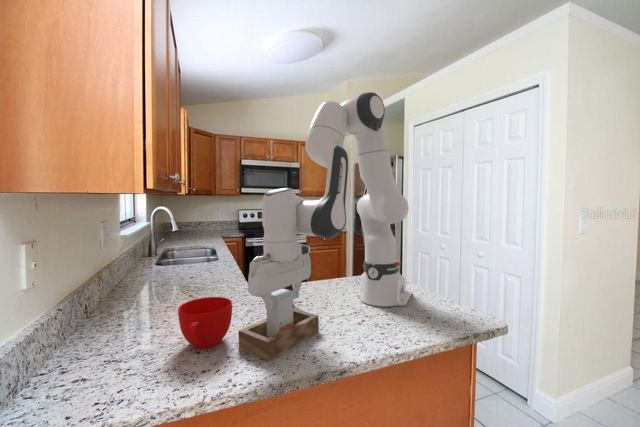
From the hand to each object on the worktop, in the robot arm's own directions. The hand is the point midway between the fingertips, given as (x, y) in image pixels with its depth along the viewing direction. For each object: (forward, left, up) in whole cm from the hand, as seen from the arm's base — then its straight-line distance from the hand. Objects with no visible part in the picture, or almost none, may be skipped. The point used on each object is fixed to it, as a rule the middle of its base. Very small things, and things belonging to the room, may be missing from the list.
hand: (283, 303), depth 78 cm
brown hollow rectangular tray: (0, -1, -10) cm, 10 cm away
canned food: (-19, -19, -10) cm, 28 cm away
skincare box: (0, -1, -9) cm, 9 cm away
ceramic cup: (+14, -14, -10) cm, 22 cm away
